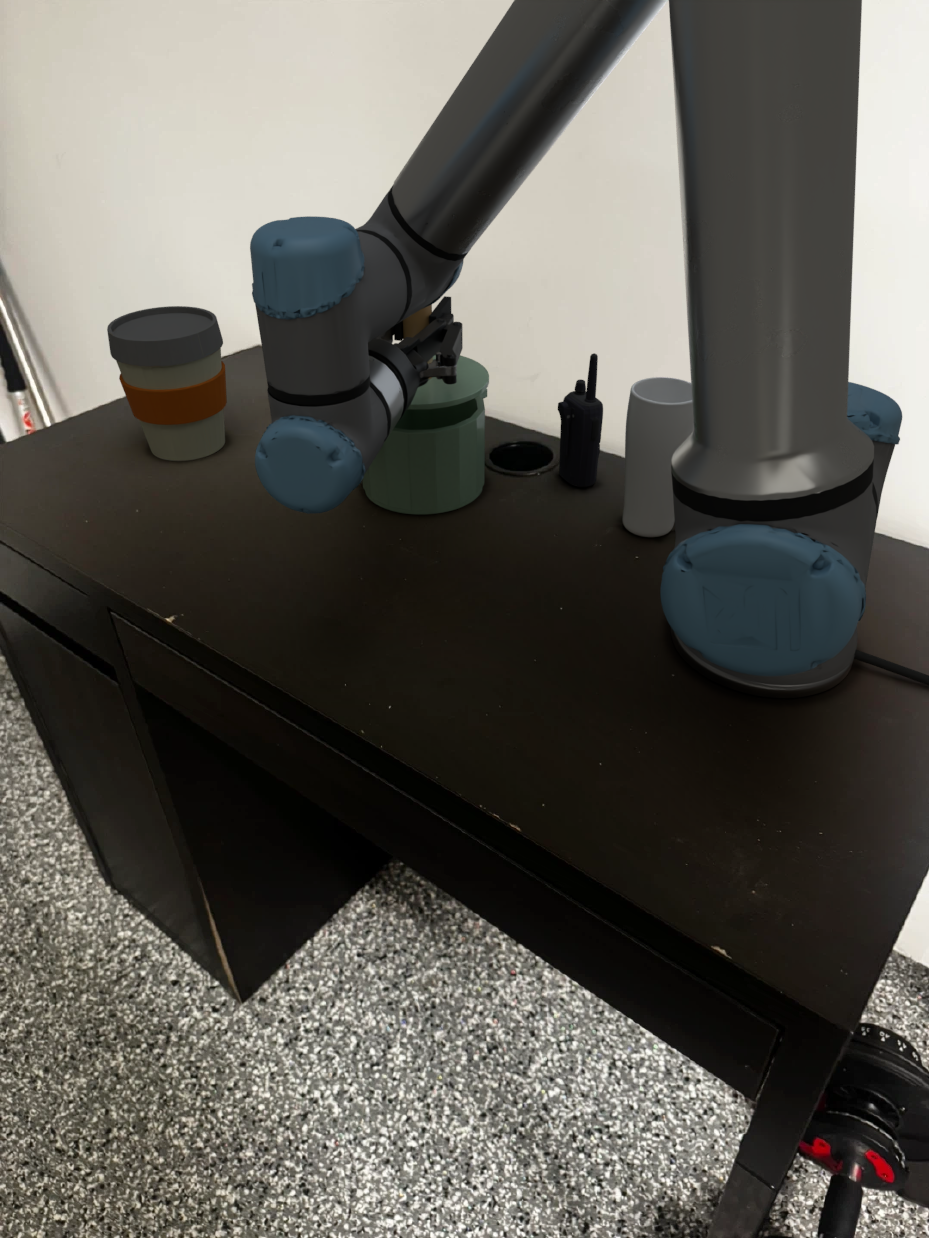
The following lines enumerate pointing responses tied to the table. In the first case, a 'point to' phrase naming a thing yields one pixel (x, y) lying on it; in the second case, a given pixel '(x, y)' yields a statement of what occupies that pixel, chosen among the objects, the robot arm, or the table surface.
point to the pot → (431, 460)
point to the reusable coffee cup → (173, 378)
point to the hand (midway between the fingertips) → (430, 308)
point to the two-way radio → (581, 431)
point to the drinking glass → (654, 452)
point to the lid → (435, 390)
